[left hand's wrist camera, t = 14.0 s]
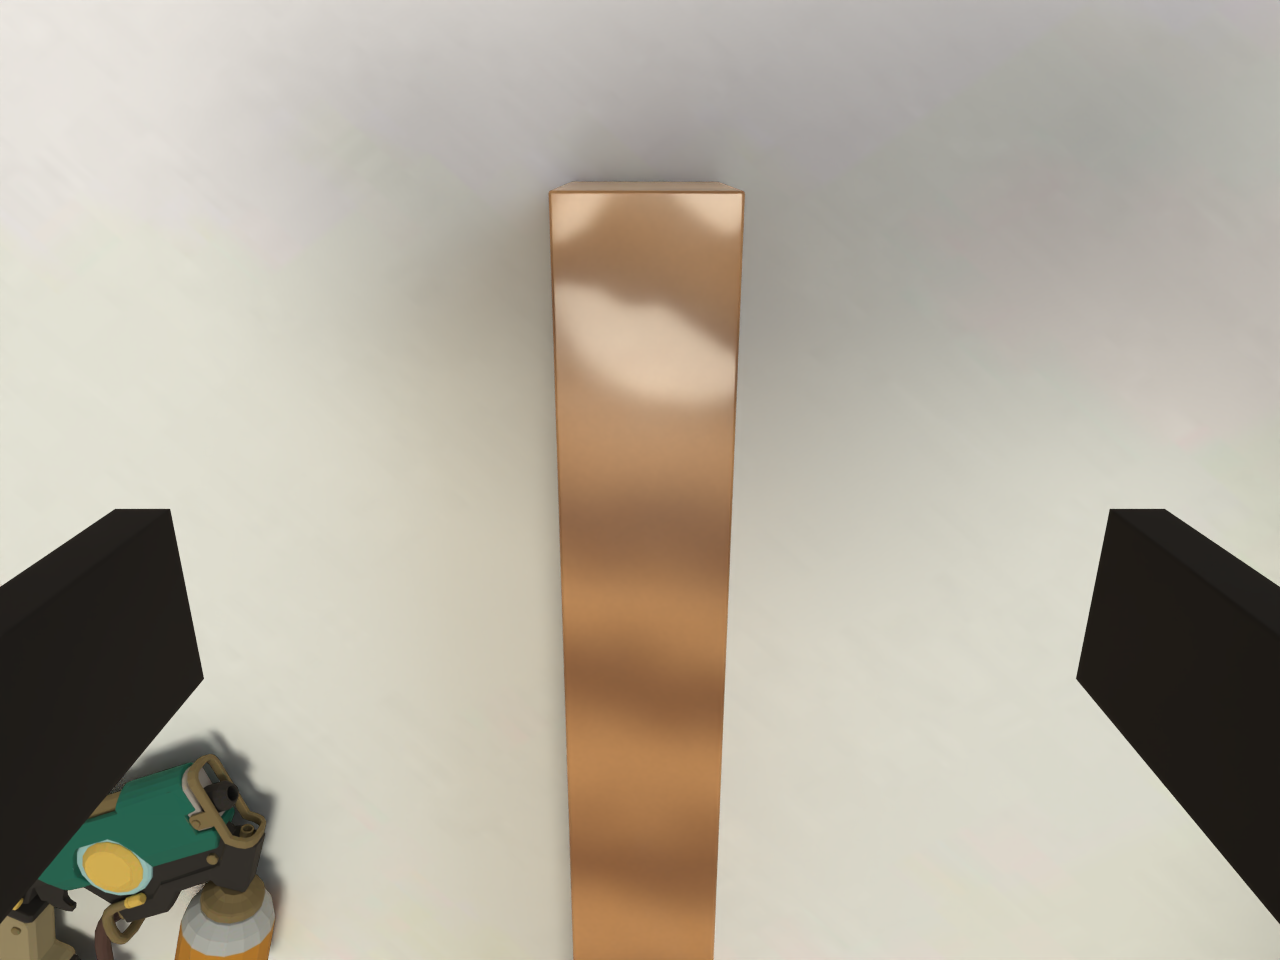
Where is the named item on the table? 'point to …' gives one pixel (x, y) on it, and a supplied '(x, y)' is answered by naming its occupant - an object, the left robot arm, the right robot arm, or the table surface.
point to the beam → (645, 549)
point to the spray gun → (157, 871)
